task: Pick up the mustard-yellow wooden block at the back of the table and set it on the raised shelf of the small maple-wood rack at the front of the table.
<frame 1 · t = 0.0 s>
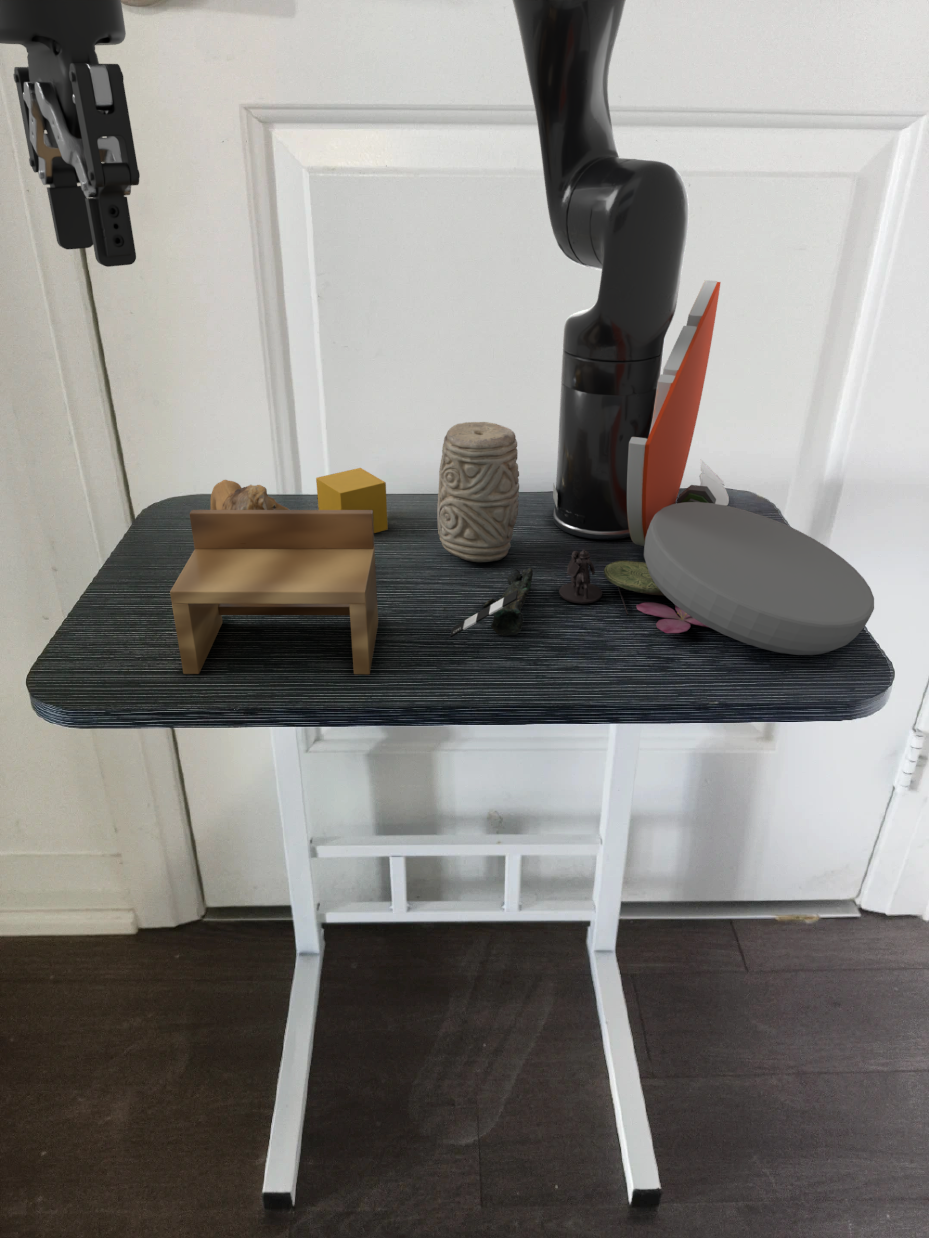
hand: (96, 256, 61), 29 cm above the table, tool pointing down, fingers open, 8 cm apart
figurine 2: (590, 595, 84), on the table, touching medallion
rack: (285, 647, 76), on the table
medallion: (648, 583, 84), point 1 cm above the table, touching figurine 2, flower
wall plaque: (702, 363, 101), point 13 cm above the table
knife: (726, 516, 97), point 1 cm above the table
figurine: (493, 619, 80), on the table
flower: (681, 624, 79), on the table, touching decorative stone, medallion
carving: (477, 555, 91), on the table
lion figurine: (246, 562, 90), on the table
decorative stone: (763, 555, 77), point 6 cm above the table, touching flower
block: (353, 527, 96), on the table
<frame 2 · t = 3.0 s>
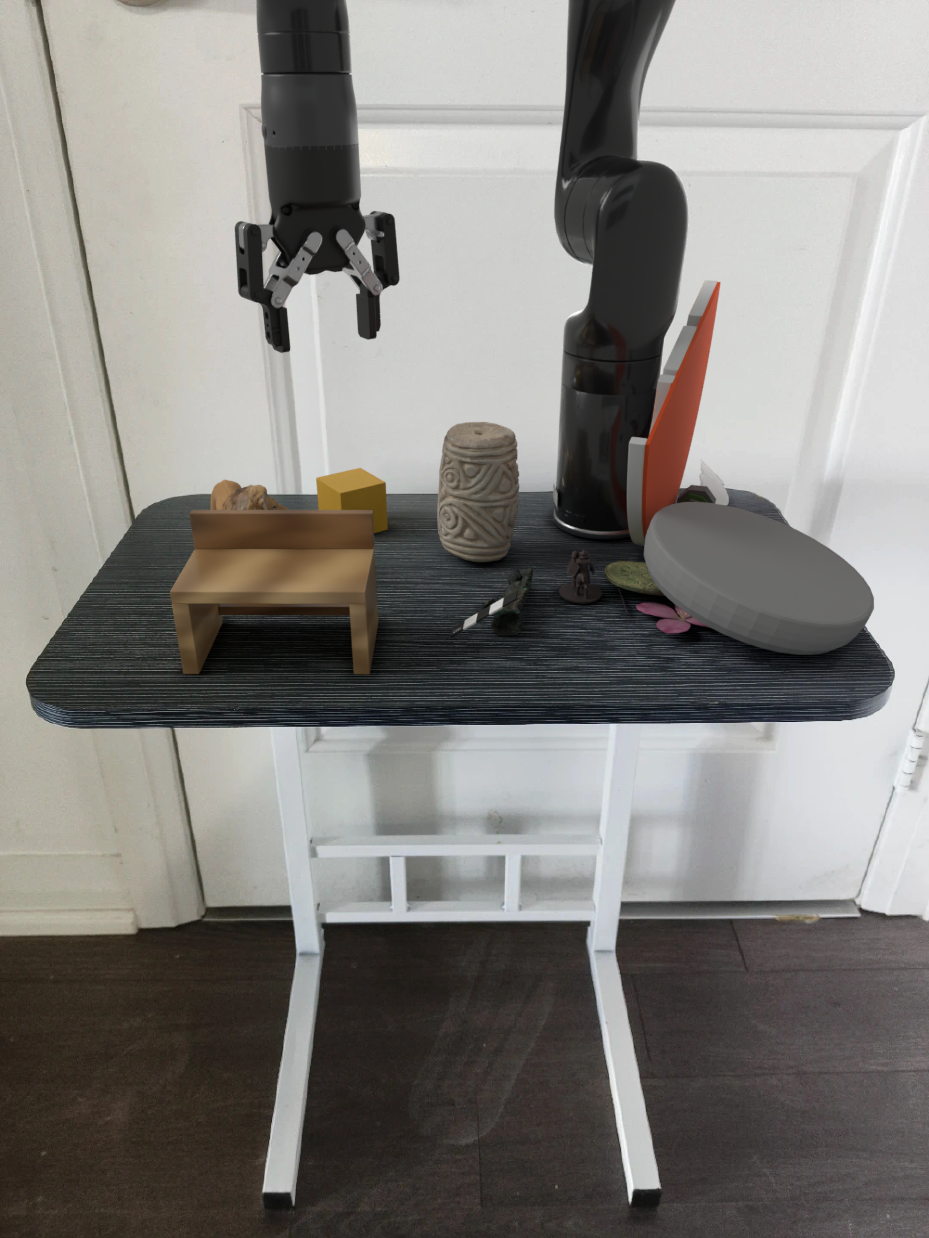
hand: (325, 344, 85), 19 cm above the table, tool pointing down, fingers open, 8 cm apart
nothing on the table moved.
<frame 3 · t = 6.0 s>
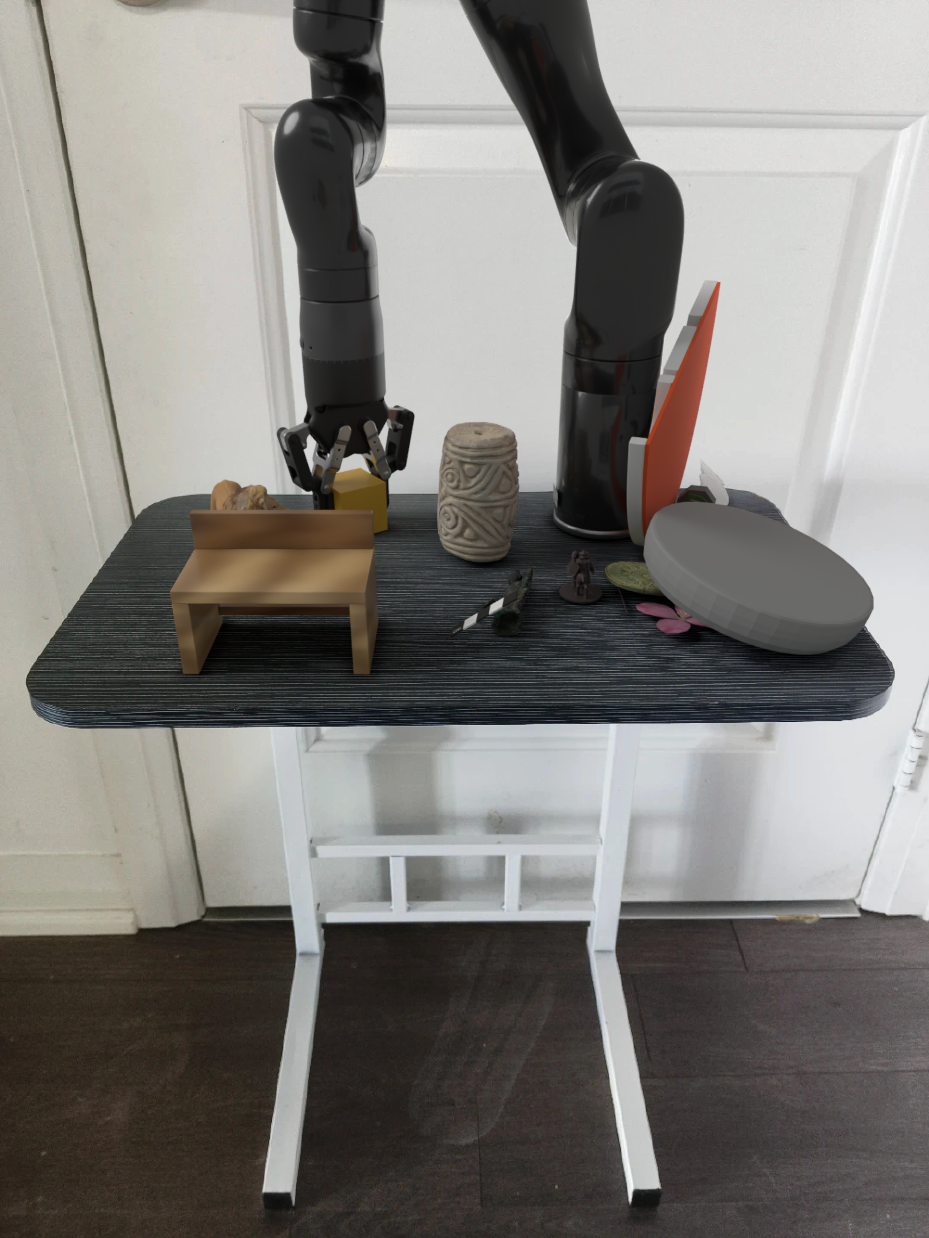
hand: (353, 518, 96), 1 cm above the table, tool pointing down, fingers closed on block, 5 cm apart
block: (353, 527, 96), on the table, touching gripper
everything else where it was.
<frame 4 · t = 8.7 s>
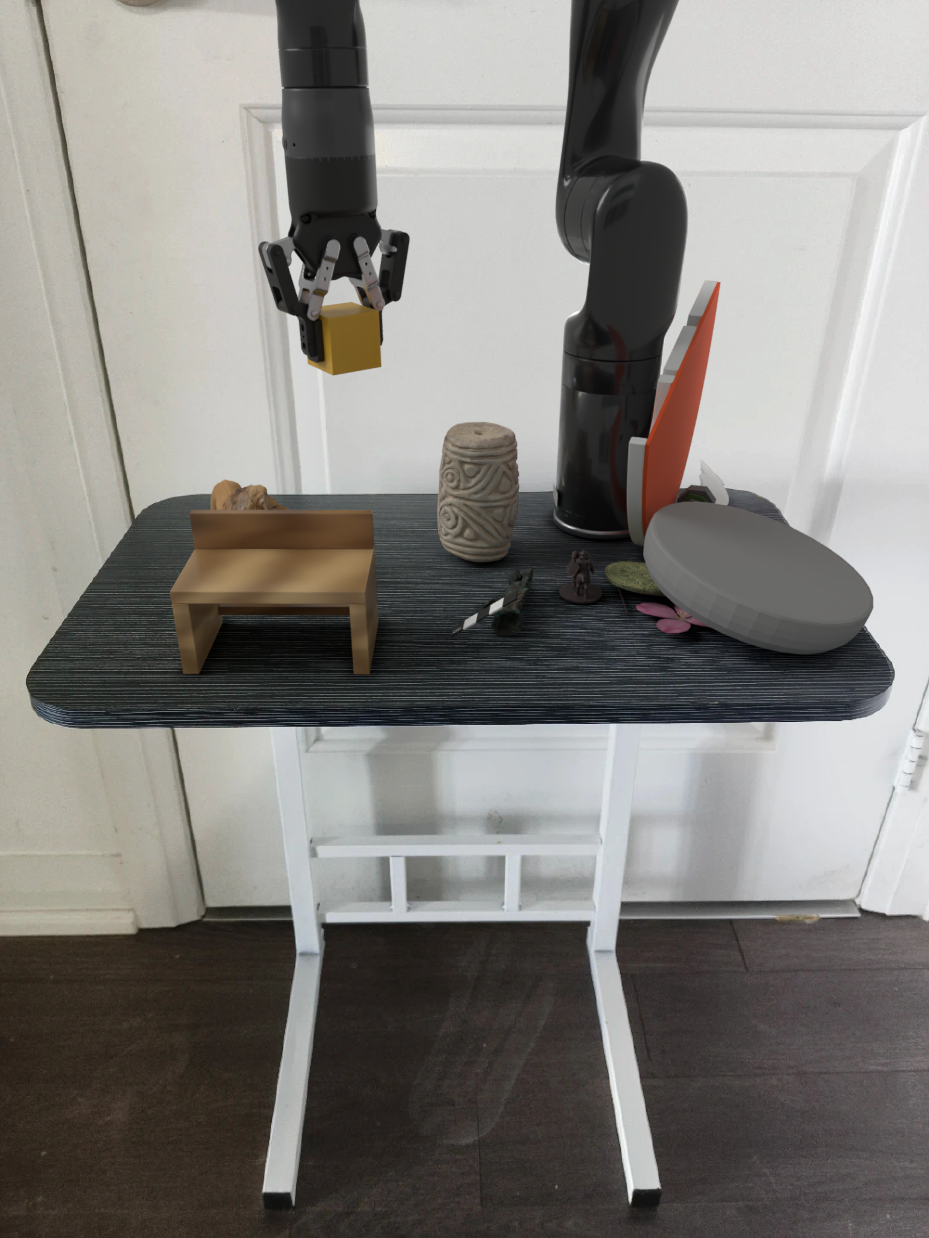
hand: (343, 355, 88), 17 cm above the table, tool pointing down, fingers closed on block, 5 cm apart
block: (344, 365, 89), point 16 cm above the table, touching gripper
everything else where it was.
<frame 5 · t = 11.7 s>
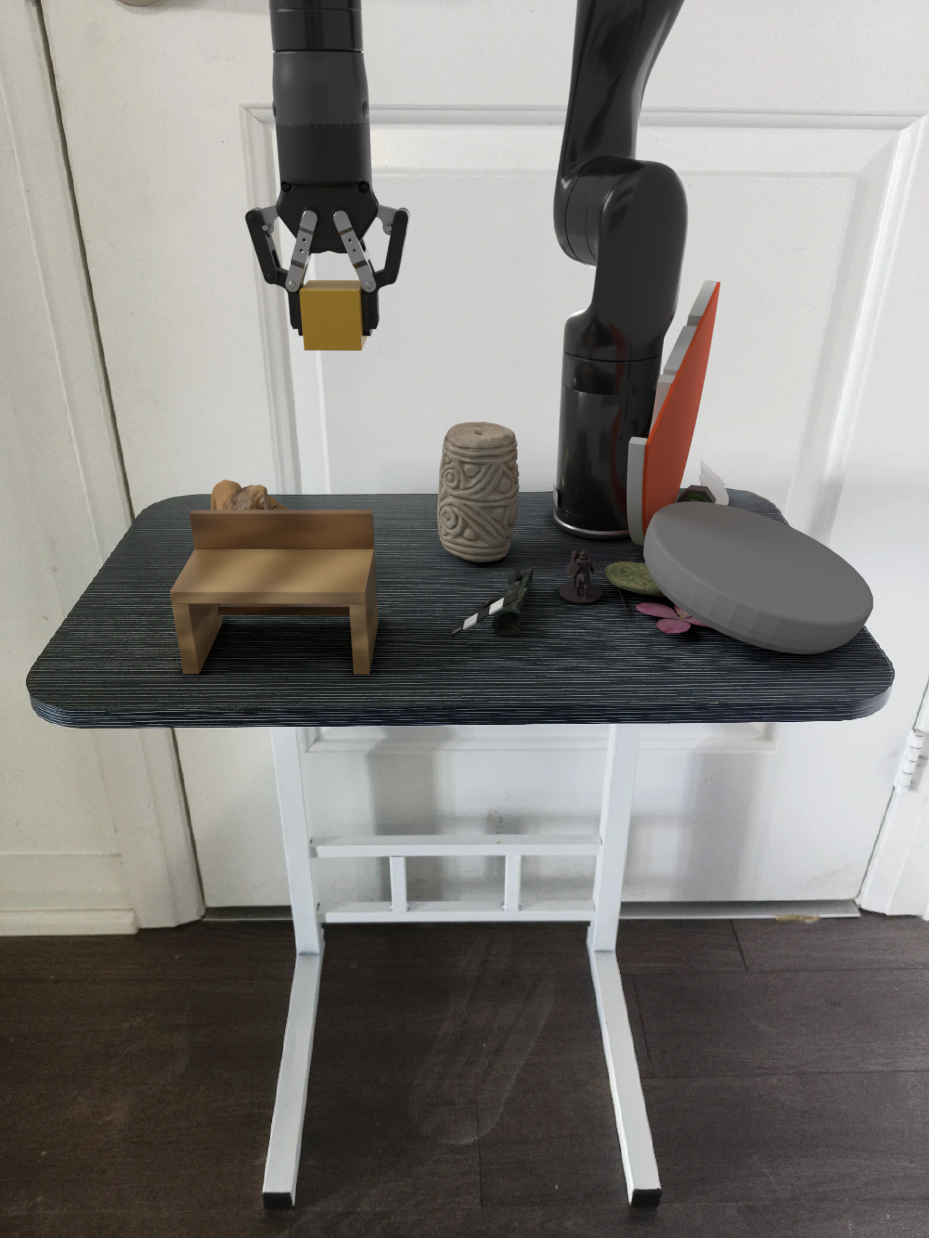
hand: (335, 333, 85), 19 cm above the table, tool pointing down, fingers closed on block, 5 cm apart
medallion: (648, 583, 84), point 1 cm above the table, touching decorative stone, figurine 2, flower
decorative stone: (762, 554, 77), point 6 cm above the table, touching flower, medallion
block: (336, 344, 86), point 19 cm above the table, touching gripper
everything else where it was.
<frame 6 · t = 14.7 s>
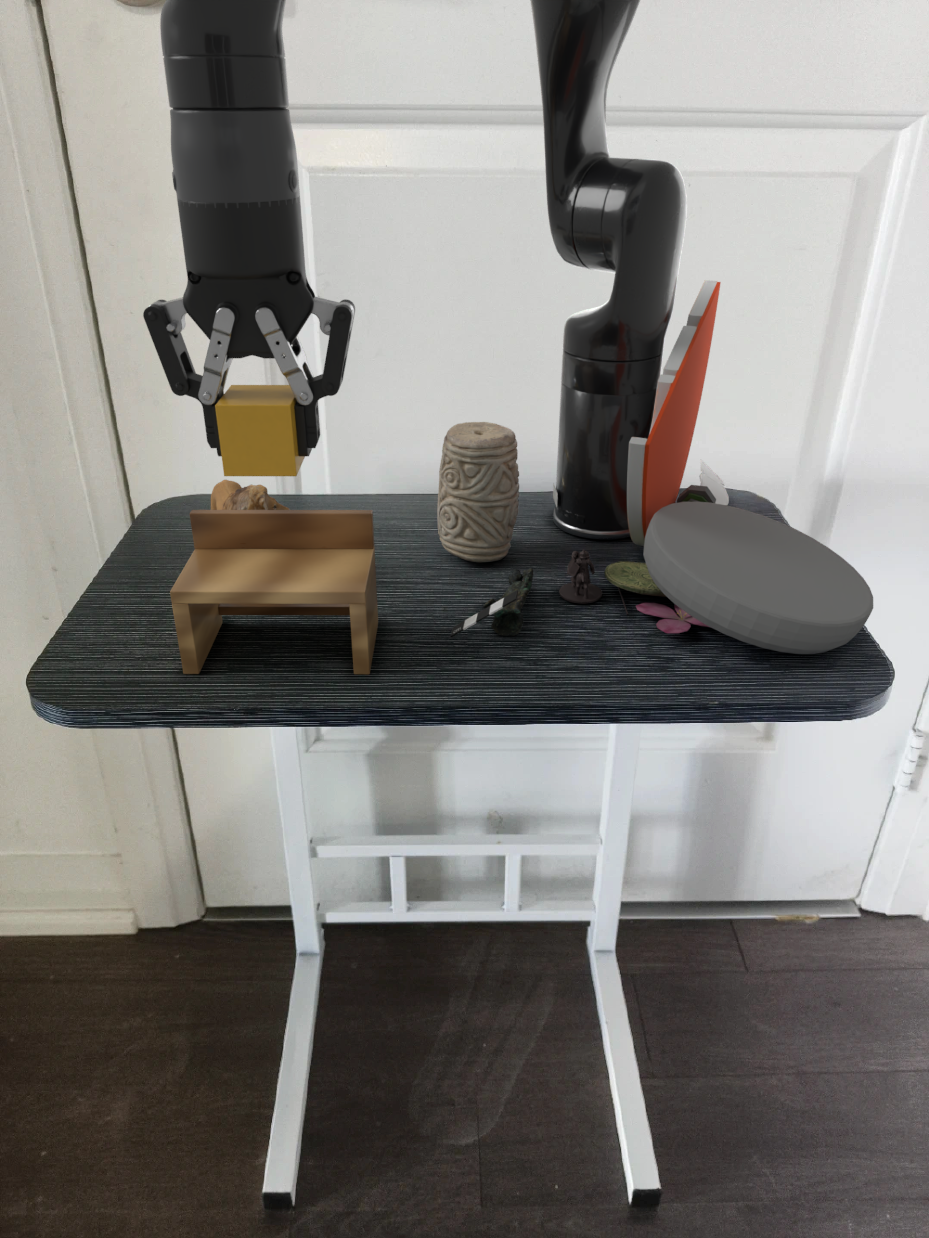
hand: (265, 452, 68), 16 cm above the table, tool pointing down, fingers closed on block, 5 cm apart
medallion: (649, 584, 84), point 1 cm above the table, touching figurine 2, flower
decorative stone: (762, 554, 77), point 6 cm above the table, touching flower
block: (266, 464, 69), point 15 cm above the table, touching gripper
everything else where it was.
when the fingers open (8 cm above the table, at t = 17.4 s): block stays where it is, resting on rack.
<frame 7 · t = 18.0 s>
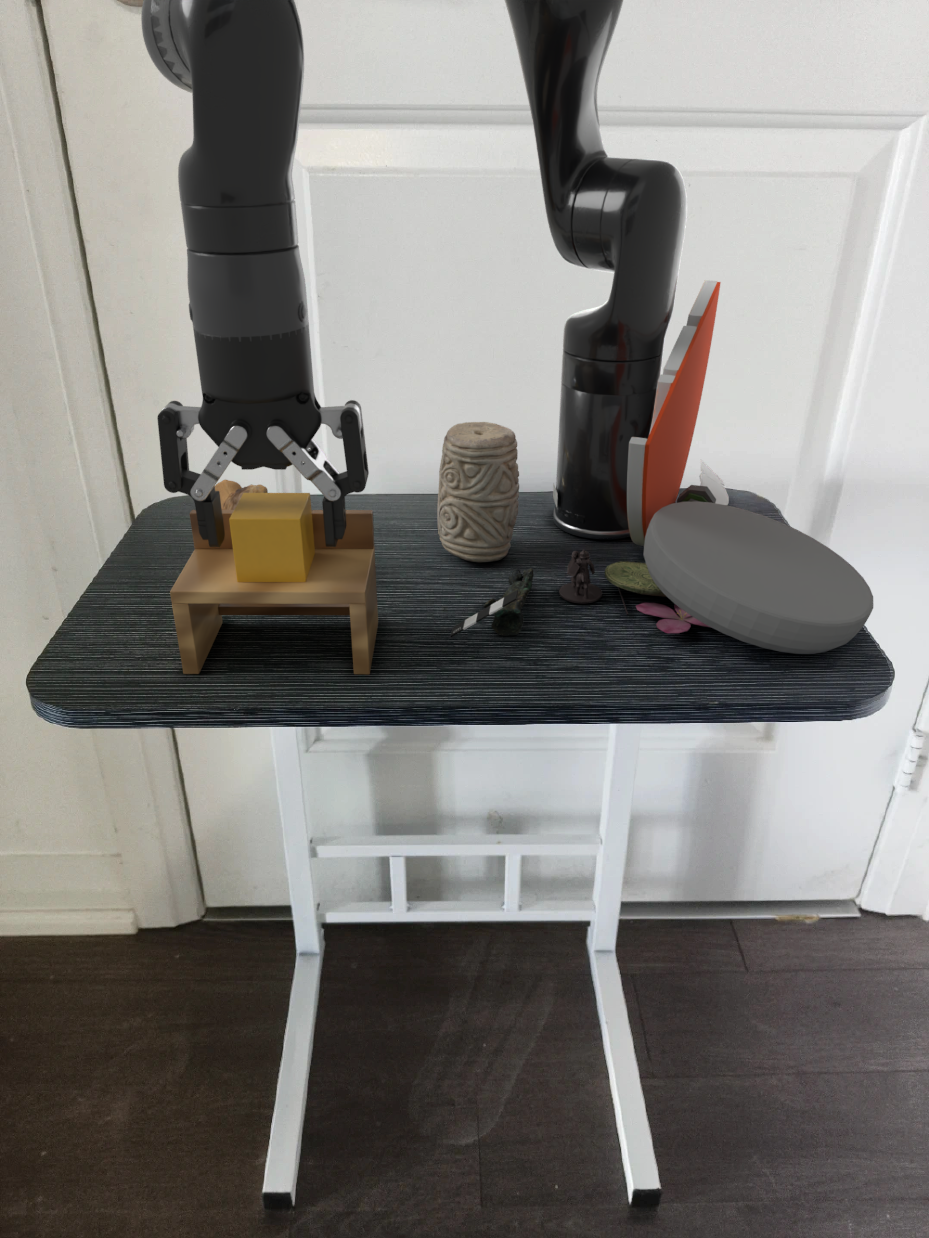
hand: (274, 543, 72), 9 cm above the table, tool pointing down, fingers open, 8 cm apart
block: (277, 567, 72), point 7 cm above the table, touching rack
everything else where it was.
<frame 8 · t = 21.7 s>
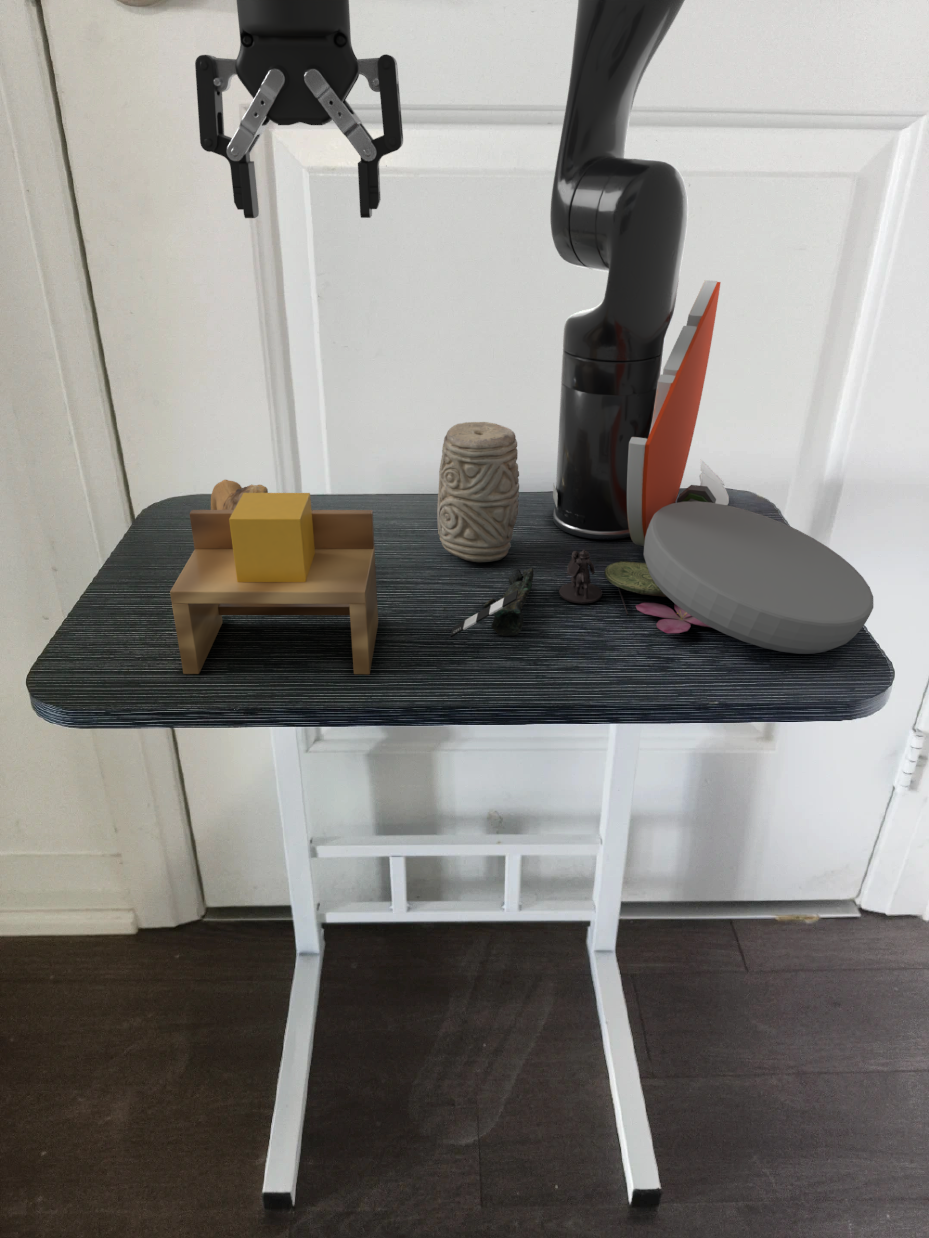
hand: (308, 217, 72), 30 cm above the table, tool pointing down, fingers open, 8 cm apart
nothing on the table moved.
at the end: block inside the target area on the rack (0.0 cm from its centre), point 7.0 cm above the rack's base; block tilted 0° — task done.
